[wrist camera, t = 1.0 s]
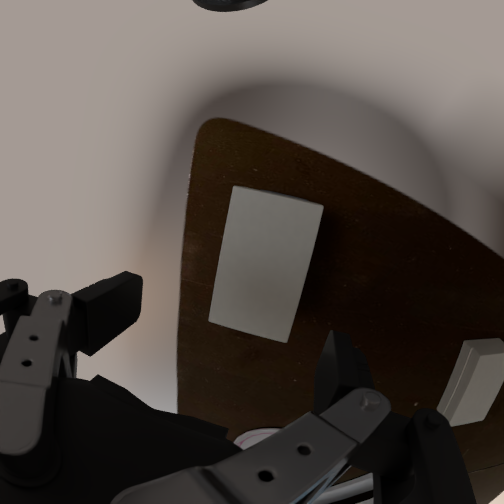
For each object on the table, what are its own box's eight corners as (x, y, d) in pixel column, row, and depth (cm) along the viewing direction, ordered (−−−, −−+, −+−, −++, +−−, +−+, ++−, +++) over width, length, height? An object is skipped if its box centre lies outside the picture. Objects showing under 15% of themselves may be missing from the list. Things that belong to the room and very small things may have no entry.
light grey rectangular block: (242, 186, 21) (233, 185, 19) (321, 204, 20) (323, 206, 18) (218, 308, 23) (208, 321, 21) (289, 327, 23) (286, 343, 20)
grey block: (464, 338, 24) (479, 355, 20) (500, 336, 23) (516, 351, 19) (436, 408, 26) (445, 428, 22) (471, 403, 25) (482, 421, 21)
